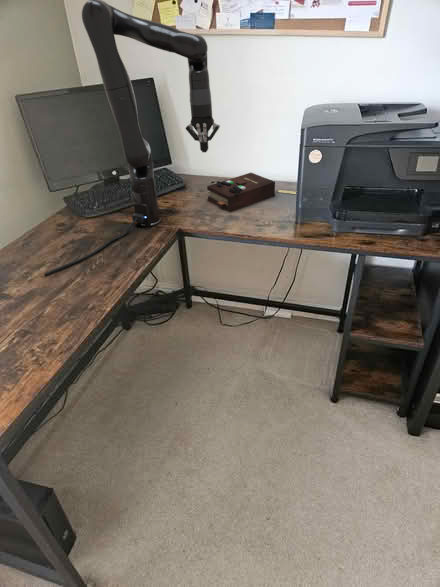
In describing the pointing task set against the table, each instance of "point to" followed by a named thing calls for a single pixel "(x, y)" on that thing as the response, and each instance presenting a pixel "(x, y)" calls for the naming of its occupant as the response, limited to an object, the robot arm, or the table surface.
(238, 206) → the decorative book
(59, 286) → the table surface
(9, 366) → the table surface
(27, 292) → the table surface
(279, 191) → the tape mark
